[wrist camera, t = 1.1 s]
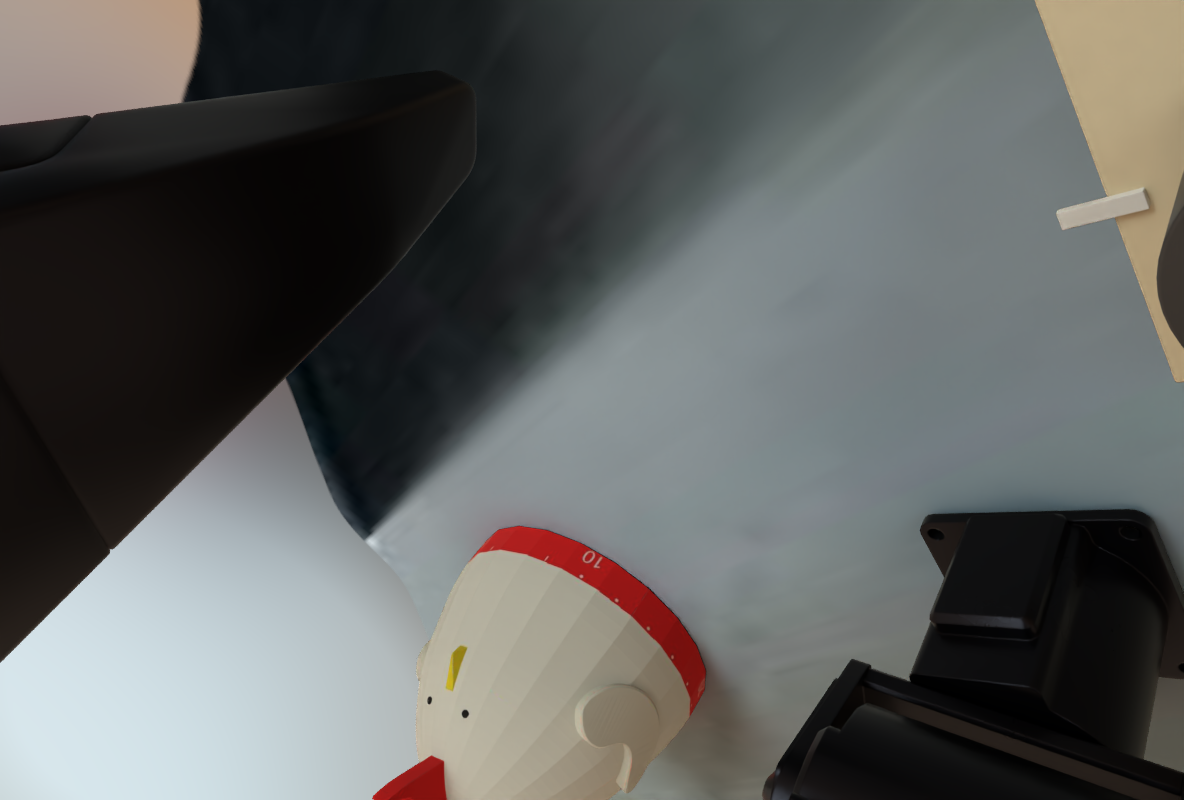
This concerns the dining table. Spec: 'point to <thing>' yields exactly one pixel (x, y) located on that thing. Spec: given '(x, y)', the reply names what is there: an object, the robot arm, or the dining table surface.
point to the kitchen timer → (547, 678)
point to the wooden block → (1127, 123)
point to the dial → (1173, 269)
